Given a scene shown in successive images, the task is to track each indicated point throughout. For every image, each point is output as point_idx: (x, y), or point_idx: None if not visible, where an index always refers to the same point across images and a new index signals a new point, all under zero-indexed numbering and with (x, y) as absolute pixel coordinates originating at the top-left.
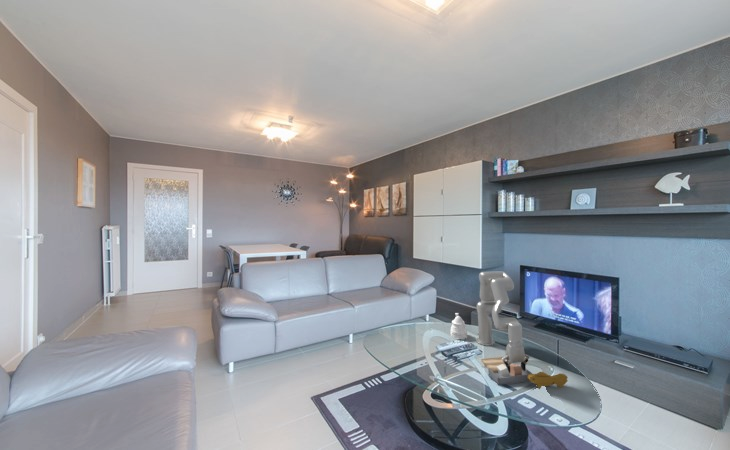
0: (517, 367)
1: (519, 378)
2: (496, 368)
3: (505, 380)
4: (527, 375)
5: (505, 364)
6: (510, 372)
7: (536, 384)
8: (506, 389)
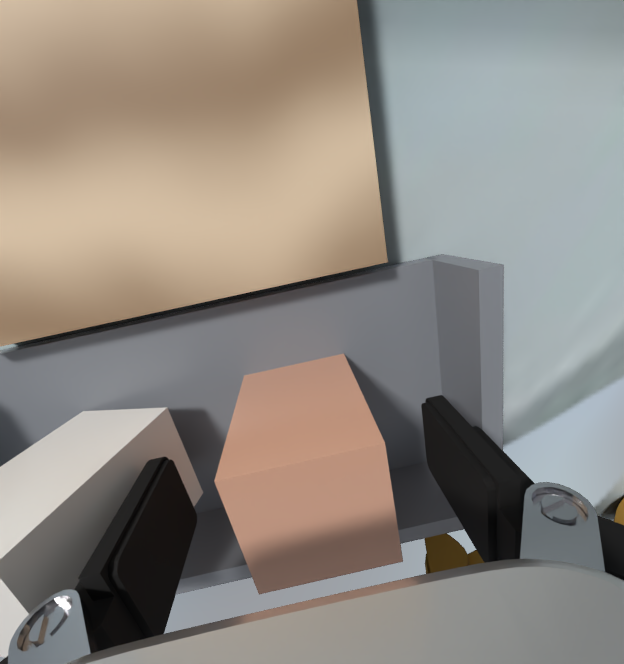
0: (326, 559)
1: None
2: (28, 292)
3: None
4: (414, 534)
5: (230, 138)
6: (240, 389)
7: (436, 553)
8: None
